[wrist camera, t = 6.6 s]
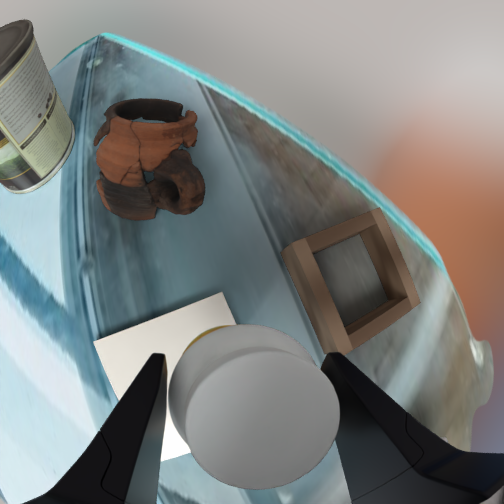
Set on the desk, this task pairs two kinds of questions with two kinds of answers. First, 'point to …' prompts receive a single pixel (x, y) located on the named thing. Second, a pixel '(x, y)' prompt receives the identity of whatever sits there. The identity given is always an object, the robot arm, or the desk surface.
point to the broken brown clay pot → (148, 159)
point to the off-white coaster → (160, 351)
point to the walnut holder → (319, 297)
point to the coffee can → (29, 114)
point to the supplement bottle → (252, 406)
